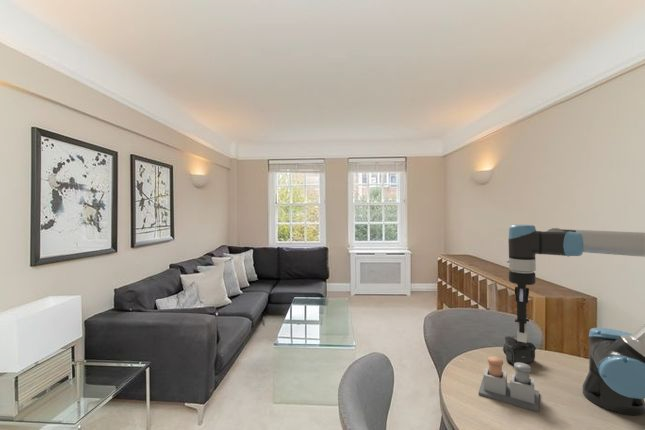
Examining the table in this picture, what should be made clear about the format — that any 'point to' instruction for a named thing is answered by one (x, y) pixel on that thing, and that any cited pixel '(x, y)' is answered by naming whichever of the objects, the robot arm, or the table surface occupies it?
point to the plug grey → (522, 373)
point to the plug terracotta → (495, 366)
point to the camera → (518, 351)
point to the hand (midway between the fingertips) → (521, 341)
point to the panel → (510, 391)
